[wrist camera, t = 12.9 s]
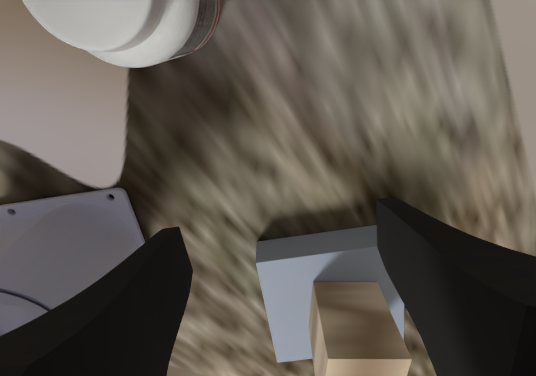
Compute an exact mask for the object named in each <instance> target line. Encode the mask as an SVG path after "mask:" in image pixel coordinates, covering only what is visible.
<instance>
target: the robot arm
mask: <svg viewBox="0 0 536 376" xmlns="http://www.w3.org/2000/svg"><path fill="white" fill-rule="evenodd" d="M109 194H112V195H113V196H114V198H111V197H110V196H109ZM376 207H377V248H378V251H379V254H380V256H381V259H382V262H383V264H384V267H385V269H386V272H387V274H388V275H389V277H390V279H391V281H392V283H393V285H394V287H395V289H396V290H397V292H398V294H399V296H400V298H401V300H402V301H403V303H404V305H405V307H406V309H407V311H408V312H409V314H410V316H411V318H412V320H413V322H414V323H415V325H416V327H417V330H418V332H419V334H420V336H421V338H422V340H423V343H424V345H425V348H426V350H427V352H428V355H429V357H430V360H431V362H432V364H433V367H434V369H435V372H436V375H437V376H536V257H535V256H532V255H528V254H525V253H521V252H518V251H514V250H511V249H508V248H505V247H502V246H499V245H496V244H493V243H491V242H488V241H485V240H482V239H480V238H477V237H474V236H472V235H469V234H467V233H465V232H463V231H460V230H458V229H456V228H454V227H451V226H449V225H447V224H445V223H443V222H441V221H439V220H437V219H435V218H433V217H431V216H429V215H427V214H425V213H423V212H421V211H420V210H418V209H416V208H414V207H412V206H410V205H409V204H407V203H405V202H403V201H401V200H399V199H397V198H394V197H392V198H385V199H378V200H376ZM12 209H13V210H14V211H15V212H16V213H15V212H13V211H12ZM192 274H193V269H192V266H191V263H190V260H189V257H188V253H187V250H186V247H185V244H184V241H183V238H182V235H181V231H180V228H179V227H172V228H165V229H162V230H160V231H159V232H158V233H156V234H155V235H154V236H152V237H151V238H150V239H149V240H148V241H146V242H145V240H144V238H143V235H142V232H141V230H140V227H139V224H138V222H137V219H136V216H135V214H134V211H133V208H132V206H131V203H130V201H129V198H128V195H127V193H126V191H125V190H124V189H122V188H111V189H104V190H98V191H91V192H84V193H78V194H71V195H64V196H58V197H51V198H44V199H38V200H31V201H24V202H18V203H11V204H4V205H0V376H166V375H167V369H168V365H169V361H170V357H171V353H172V349H173V346H174V343H175V340H176V336H177V333H178V330H179V327H180V324H181V320H182V317H183V314H184V311H185V307H186V304H187V301H188V297H189V293H190V287H191V281H192Z"/></svg>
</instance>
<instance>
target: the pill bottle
mask: <svg viewBox="0 0 536 376" xmlns="http://www.w3.org/2000/svg"><path fill="white" fill-rule="evenodd" d="M22 1H23V2H24V4H25V6H26V7H27V8H28V10H29V11H30V13H31V14H32V15H33V16H34V18H35V19H36V20H37V21H38V22H39V23H40V24H41V25H42V26H43V27H44V28H45V29H46V30H47V31H48V32H50V33H51V34H53V35H54V36H55V37H57V38H58V39H60V40H62V41H63V42H65V43H67V44H69V45H72V46H74V47H77V48H80V49H84V50H86V51H88V52H89V53H90V54H92V55H93V56H95V57H97V58H99V59H101V60H103V61H105V62H107V63H110V64H113V65H116V66H122V67H129V68H142V67H147V66H152V65H155V64H159V63H162V62H165V61H168V60H172V59H175V58H179V57H182V56H185V55H188V54H191V53H193V52H195V51H197V50H198V49H200V48H201V47H202V46H203V45H204V44H205V43H206V42H207V41H208V40H209V39H210V37H211V36H212V34H213V32H214V30H215V27H216V25H217V21H218V18H219V7H220V2H219V0H22Z"/></svg>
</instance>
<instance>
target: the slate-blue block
mask: <svg viewBox="0 0 536 376" xmlns="http://www.w3.org/2000/svg"><path fill="white" fill-rule="evenodd" d="M256 266H257V270H258V275H259V280H260V284H261V289H262V294H263V298H264V303H265V308H266V312H267V317H268V321H269V326H270V331H271V335H272V340H273V345H274V349H275V354H276V359H277V363H278V362H286V361H295V360H303V359H311V358H313V357H312V350H311V343H310V337H309V330H308V325H309V316H310V306H311V296H312V286H313V282H377V283H378V285H379V287H380V289H381V292H382V294H383V296H384V298H385V301H386V303H387V305H388V307H389V309H390V312H391V314H392V316H393V318H394V321H395V323H396V325H397V327H398V330H399V332H400V334H401V336H402V339H404V303H403V301H402V300H401V298H400V296H399V294H398V292H397V290H396V289H395V287H394V285H393V283H392V281H391V279H390V277H389V275H388V274H387V272H386V269H385V267H384V264H383V262H382V259H381V256H380V254H379V251H378V248H377V225H372V226H365V227H358V228H351V229H344V230H337V231H329V232H322V233H315V234H308V235H301V236H294V237H287V238H279V239H272V240H265V241H258V242H257V245H256Z"/></svg>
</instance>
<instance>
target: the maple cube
mask: <svg viewBox="0 0 536 376" xmlns="http://www.w3.org/2000/svg"><path fill="white" fill-rule="evenodd" d="M308 330H309V337H310V343H311V350H312V357H313V364H314V370H315V376H407V373H408V370H409V367H410V363H411V360H412V359H411V357H410V354H409V352H408V350H407V348H406V345H405V343H404V341H403V339H402V336H401V334H400V332H399V330H398V327H397V325H396V323H395V321H394V318H393V316H392V314H391V312H390V309H389V307H388V305H387V303H386V301H385V298H384V296H383V294H382V292H381V289H380V287H379V285H378V283H377V282H313V286H312V296H311V306H310V316H309V325H308Z"/></svg>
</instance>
